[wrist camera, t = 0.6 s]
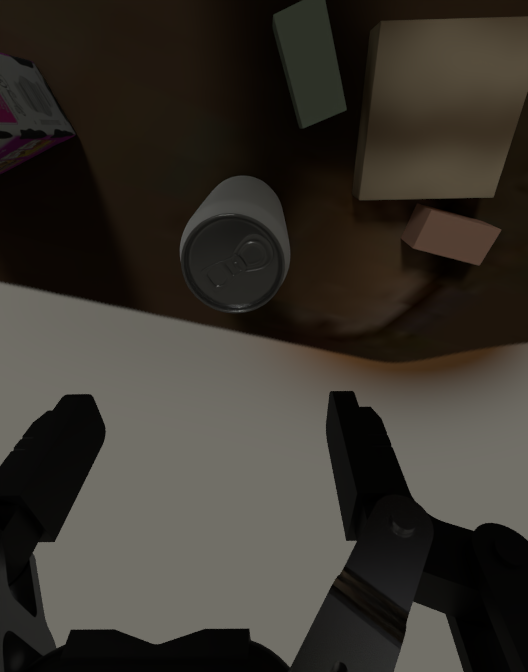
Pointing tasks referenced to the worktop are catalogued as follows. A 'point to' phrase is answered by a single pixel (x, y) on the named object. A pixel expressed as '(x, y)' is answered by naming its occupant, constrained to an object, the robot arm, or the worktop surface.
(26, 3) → the worktop surface
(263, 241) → the can
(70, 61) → the worktop surface
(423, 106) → the oak pad
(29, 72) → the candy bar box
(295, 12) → the brick sage
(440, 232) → the brick terracotta
